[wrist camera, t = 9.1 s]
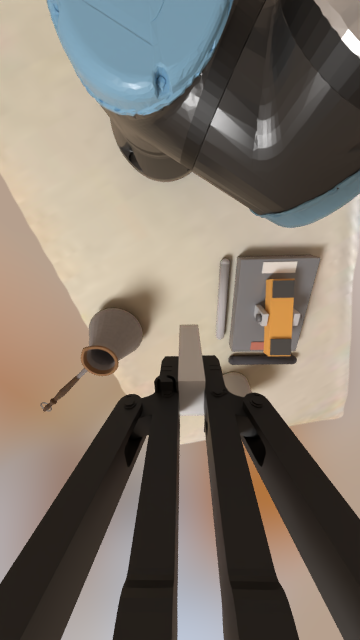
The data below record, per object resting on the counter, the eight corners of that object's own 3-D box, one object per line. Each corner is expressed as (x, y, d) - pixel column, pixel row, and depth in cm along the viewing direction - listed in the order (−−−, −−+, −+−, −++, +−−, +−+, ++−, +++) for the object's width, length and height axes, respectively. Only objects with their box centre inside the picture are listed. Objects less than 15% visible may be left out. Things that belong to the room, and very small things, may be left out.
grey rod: (219, 257, 40) (221, 259, 39) (229, 257, 40) (231, 259, 39) (215, 336, 48) (216, 340, 47) (222, 336, 48) (224, 340, 47)
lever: (266, 279, 39) (272, 278, 36) (287, 279, 39) (295, 278, 36) (263, 352, 41) (269, 357, 38) (284, 352, 41) (291, 356, 38)
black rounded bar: (228, 354, 50) (229, 359, 49) (295, 353, 50) (299, 358, 48) (227, 361, 51) (229, 366, 50) (293, 360, 51) (297, 365, 49)
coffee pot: (117, 292, 44) (88, 326, 30) (155, 329, 48) (144, 373, 34) (58, 347, 50) (13, 395, 37) (96, 375, 54) (67, 428, 41)
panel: (237, 256, 40) (248, 265, 33) (311, 255, 40) (337, 263, 33) (229, 344, 49) (236, 364, 42) (289, 343, 49) (306, 363, 42)
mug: (253, 376, 53) (269, 413, 44) (238, 399, 57) (250, 437, 47) (210, 364, 52) (216, 398, 42) (198, 388, 56) (201, 425, 46)
